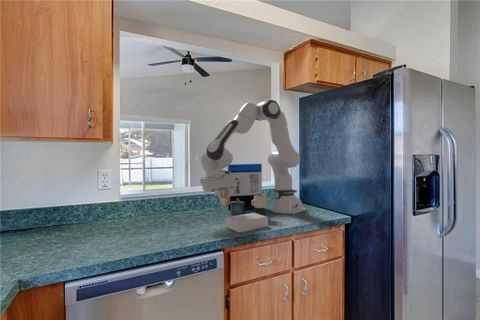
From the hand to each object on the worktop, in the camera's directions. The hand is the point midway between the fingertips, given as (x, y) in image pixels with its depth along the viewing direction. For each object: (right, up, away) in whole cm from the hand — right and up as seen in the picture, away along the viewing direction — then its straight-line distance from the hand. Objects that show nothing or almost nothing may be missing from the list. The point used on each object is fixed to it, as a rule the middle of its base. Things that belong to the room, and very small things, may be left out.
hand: (225, 196), depth 144 cm
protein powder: (+12, -14, +39) cm, 43 cm away
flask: (+7, -15, +15) cm, 22 cm away
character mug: (+19, -15, +11) cm, 27 cm away
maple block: (0, -4, +1) cm, 4 cm away
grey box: (+11, -15, -6) cm, 20 cm away
